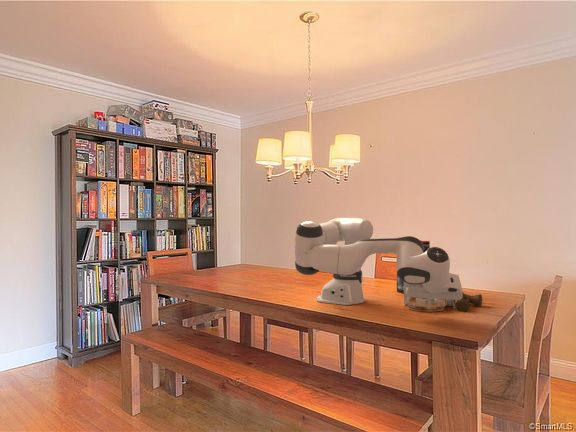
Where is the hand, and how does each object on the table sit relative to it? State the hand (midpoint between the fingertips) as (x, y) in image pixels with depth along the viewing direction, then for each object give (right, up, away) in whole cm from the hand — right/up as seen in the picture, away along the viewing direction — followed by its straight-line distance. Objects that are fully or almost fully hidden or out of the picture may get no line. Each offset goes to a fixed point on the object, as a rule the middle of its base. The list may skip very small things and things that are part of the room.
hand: (432, 301), depth 148 cm
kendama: (+20, -6, +13) cm, 25 cm away
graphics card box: (+5, -6, +39) cm, 39 cm away
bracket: (+5, -5, +17) cm, 18 cm away
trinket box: (+1, -6, +11) cm, 12 cm away
